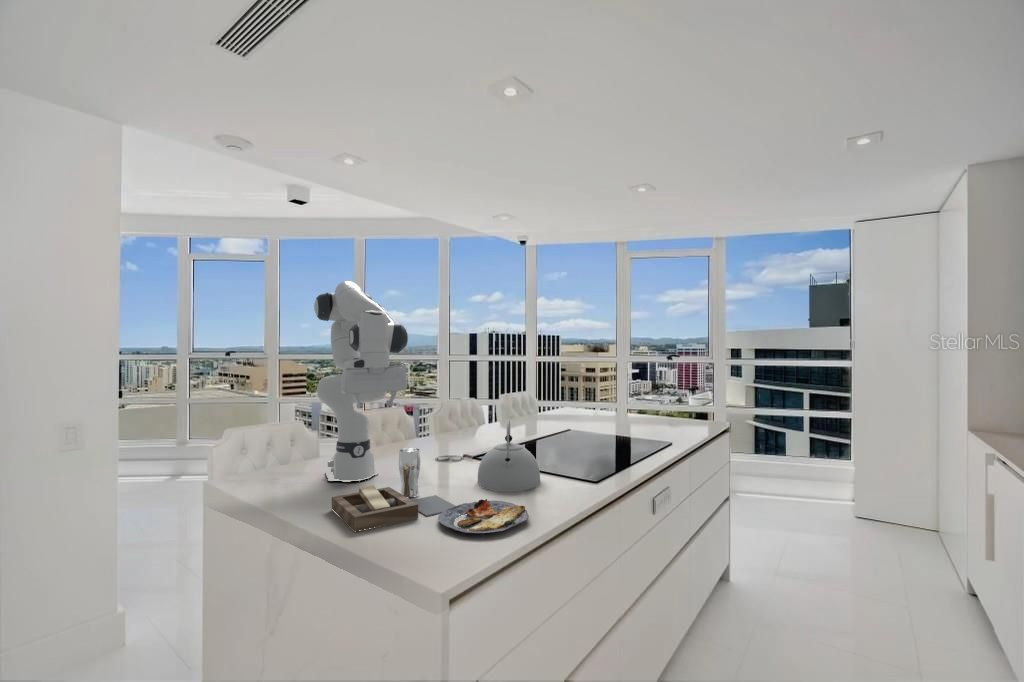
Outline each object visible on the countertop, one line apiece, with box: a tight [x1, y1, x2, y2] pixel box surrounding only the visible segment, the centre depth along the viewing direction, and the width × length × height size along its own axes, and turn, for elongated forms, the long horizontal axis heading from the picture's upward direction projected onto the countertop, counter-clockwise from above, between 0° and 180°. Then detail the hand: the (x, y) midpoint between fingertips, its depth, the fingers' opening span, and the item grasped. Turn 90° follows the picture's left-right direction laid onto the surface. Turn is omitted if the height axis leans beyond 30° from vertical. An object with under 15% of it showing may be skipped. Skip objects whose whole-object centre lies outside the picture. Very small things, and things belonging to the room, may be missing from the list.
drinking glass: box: [398, 447, 421, 498], centre depth 163 cm, size 7×7×15 cm
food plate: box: [437, 498, 530, 535], centre depth 138 cm, size 25×23×4 cm
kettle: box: [477, 418, 541, 492], centre depth 177 cm, size 25×23×22 cm
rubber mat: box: [411, 494, 456, 518], centre depth 152 cm, size 16×11×1 cm
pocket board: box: [331, 486, 419, 532], centre depth 145 cm, size 22×18×4 cm
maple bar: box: [358, 484, 390, 511], centre depth 144 cm, size 14×4×2 cm, turn 35°
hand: (375, 407), depth 152 cm, fingers open, 8 cm apart
